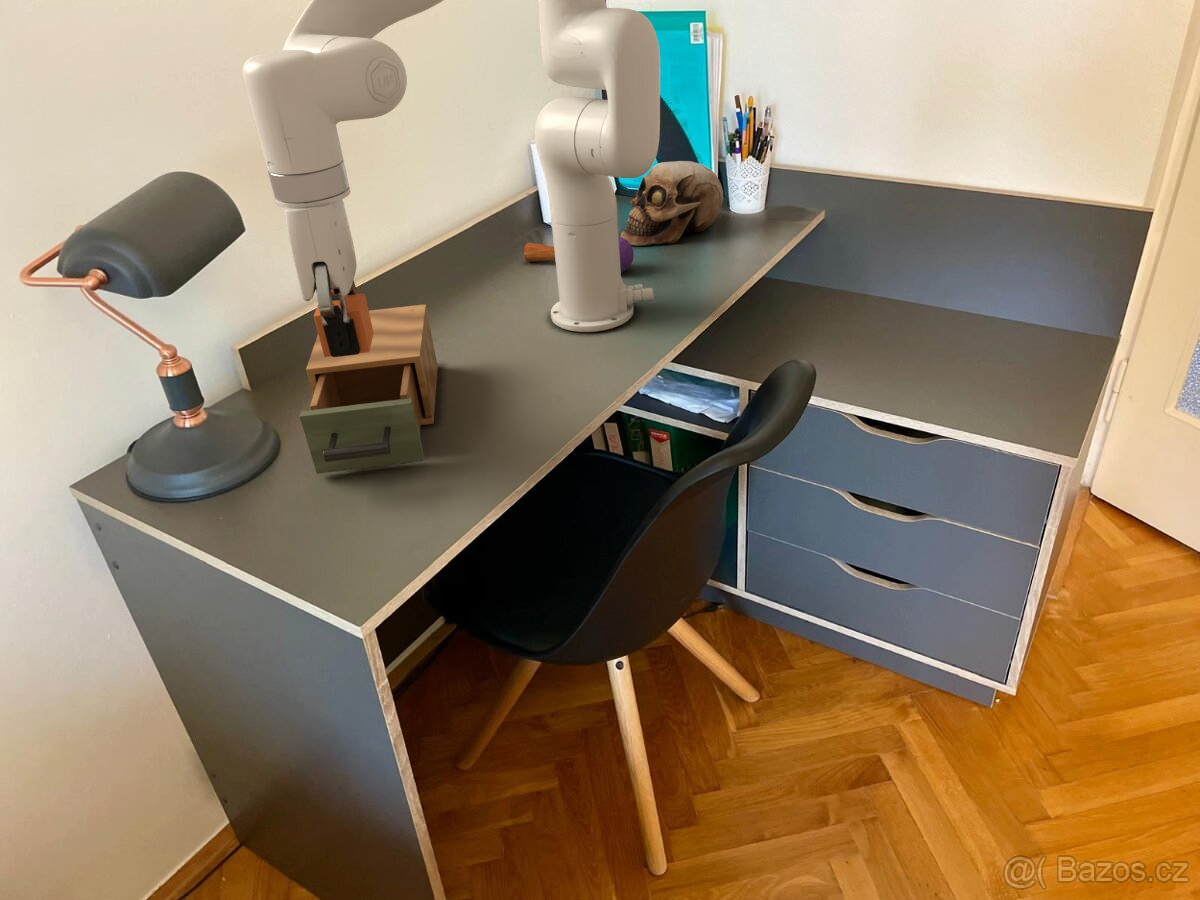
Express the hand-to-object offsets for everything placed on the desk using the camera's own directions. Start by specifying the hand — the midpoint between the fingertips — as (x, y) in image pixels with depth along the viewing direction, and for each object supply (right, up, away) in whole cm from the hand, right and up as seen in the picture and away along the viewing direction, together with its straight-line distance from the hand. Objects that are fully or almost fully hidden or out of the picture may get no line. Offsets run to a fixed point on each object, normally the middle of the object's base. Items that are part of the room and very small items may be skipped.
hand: (348, 341), depth 102 cm
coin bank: (+41, +28, +64) cm, 81 cm away
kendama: (+25, +19, +52) cm, 61 cm away
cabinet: (0, -6, +18) cm, 19 cm away
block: (0, 0, 0) cm, 0 cm away
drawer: (+1, -12, +7) cm, 14 cm away
